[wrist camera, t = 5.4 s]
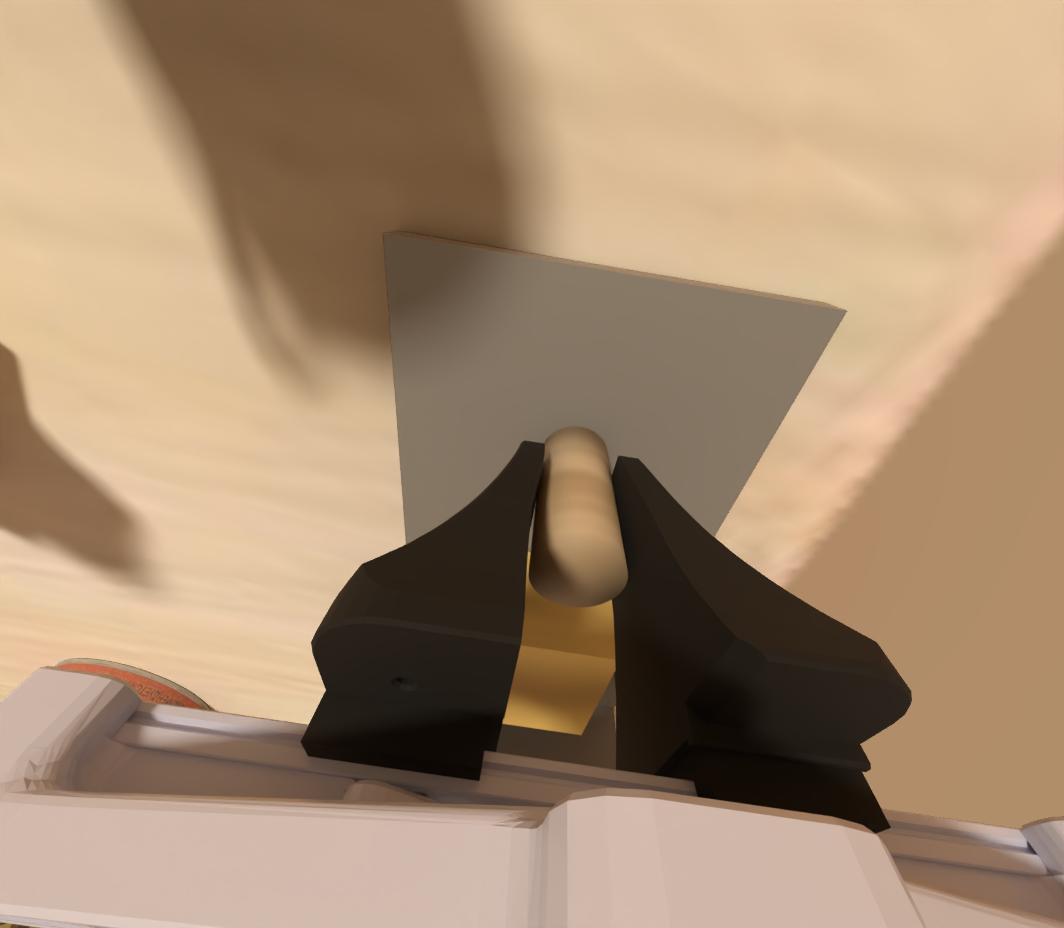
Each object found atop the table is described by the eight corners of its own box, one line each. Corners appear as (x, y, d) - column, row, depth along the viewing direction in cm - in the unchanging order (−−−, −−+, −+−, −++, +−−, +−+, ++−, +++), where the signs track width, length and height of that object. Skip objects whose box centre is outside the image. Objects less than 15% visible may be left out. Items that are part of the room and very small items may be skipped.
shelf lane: (607, 698, 24) (621, 861, 18) (421, 670, 24) (373, 826, 18) (825, 302, 10) (1177, 430, 4) (397, 230, 10) (158, 262, 4)
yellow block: (578, 643, 19) (582, 767, 15) (480, 628, 19) (455, 749, 15) (657, 437, 12) (707, 561, 8) (503, 412, 12) (469, 524, 8)
